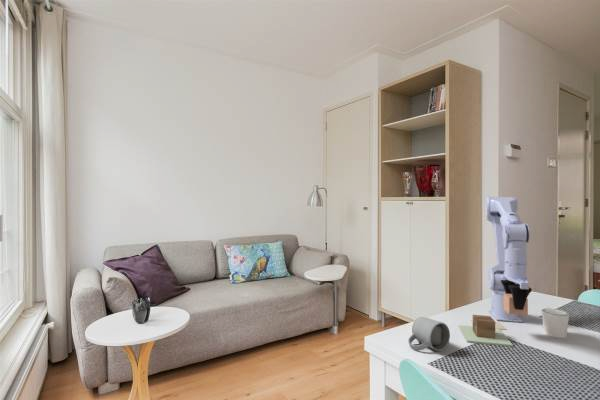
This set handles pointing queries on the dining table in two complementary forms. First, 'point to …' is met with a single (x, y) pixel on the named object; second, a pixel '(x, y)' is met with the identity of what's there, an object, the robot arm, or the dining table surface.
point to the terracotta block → (510, 305)
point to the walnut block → (483, 326)
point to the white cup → (555, 322)
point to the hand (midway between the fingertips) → (515, 306)
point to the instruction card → (498, 325)
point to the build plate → (472, 338)
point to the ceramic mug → (429, 334)
